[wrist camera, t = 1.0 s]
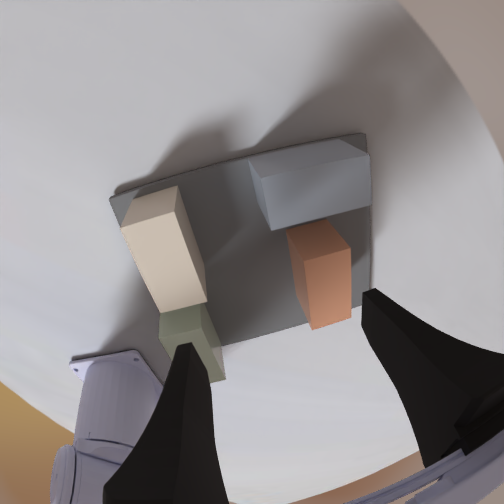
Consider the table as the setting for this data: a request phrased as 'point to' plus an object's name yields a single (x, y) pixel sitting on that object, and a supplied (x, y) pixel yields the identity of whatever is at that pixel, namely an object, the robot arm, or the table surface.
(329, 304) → the terracotta brick
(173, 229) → the cream brick
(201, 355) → the sage brick
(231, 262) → the mat
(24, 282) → the table surface
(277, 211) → the bluegrey brick
